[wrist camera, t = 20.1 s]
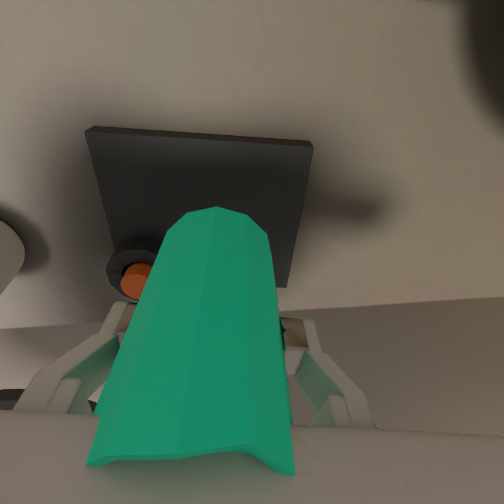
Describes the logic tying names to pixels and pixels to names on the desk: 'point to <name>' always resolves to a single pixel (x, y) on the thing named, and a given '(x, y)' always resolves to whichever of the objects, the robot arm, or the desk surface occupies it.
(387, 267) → the desk surface
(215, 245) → the candle
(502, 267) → the desk surface
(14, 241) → the cup
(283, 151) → the scale
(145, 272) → the button
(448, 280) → the desk surface
